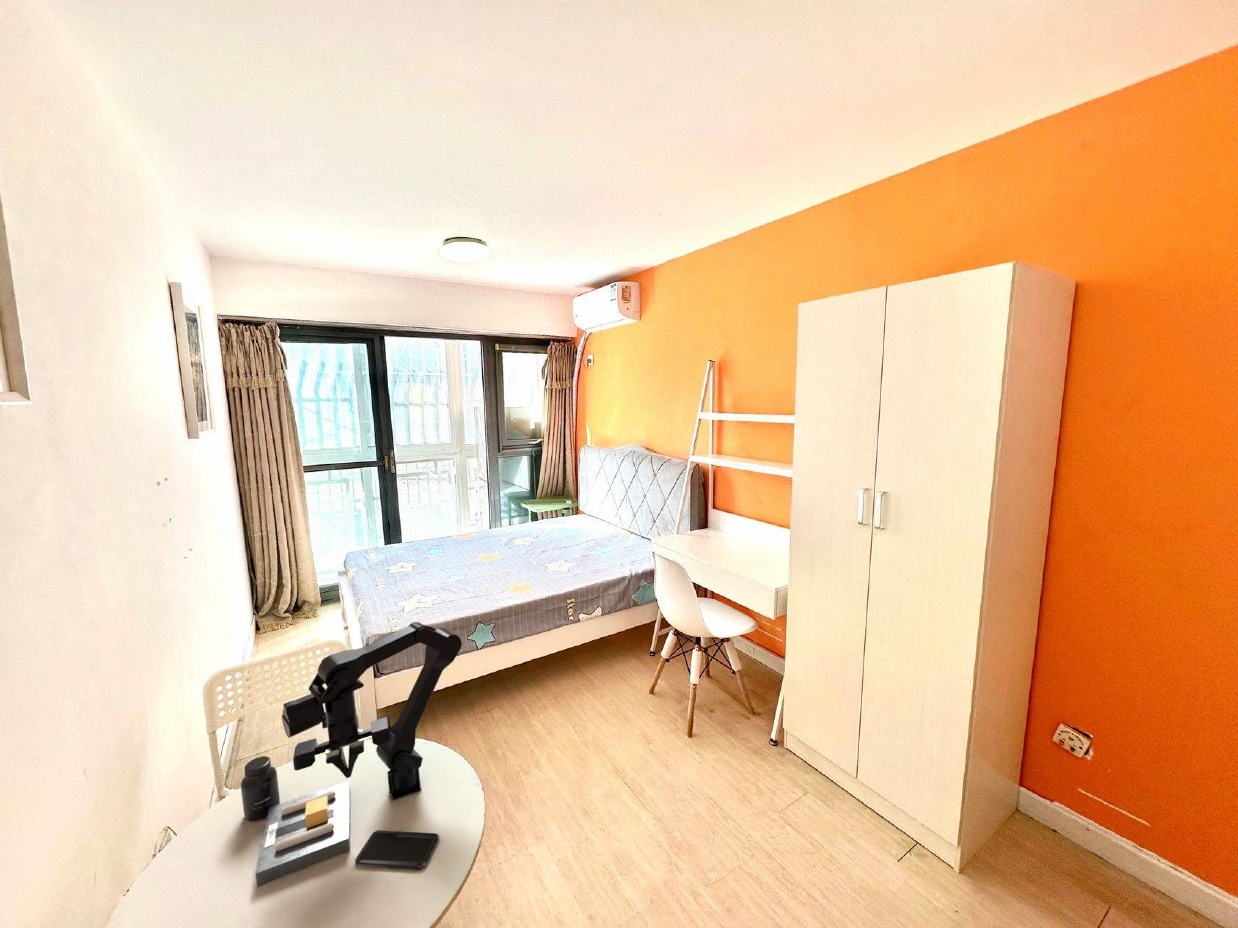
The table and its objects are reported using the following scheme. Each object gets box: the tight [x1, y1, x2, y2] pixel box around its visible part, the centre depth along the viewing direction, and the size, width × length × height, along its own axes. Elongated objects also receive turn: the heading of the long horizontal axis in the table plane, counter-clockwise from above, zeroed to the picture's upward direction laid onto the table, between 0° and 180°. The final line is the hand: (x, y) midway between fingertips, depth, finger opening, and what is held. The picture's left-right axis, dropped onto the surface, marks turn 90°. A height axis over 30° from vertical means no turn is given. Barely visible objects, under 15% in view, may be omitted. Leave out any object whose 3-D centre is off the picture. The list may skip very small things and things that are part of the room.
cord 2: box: [281, 791, 336, 815], centre depth 113 cm, size 11×2×2 cm, turn 118°
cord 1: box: [275, 823, 334, 851], centre depth 104 cm, size 11×2×2 cm, turn 118°
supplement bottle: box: [240, 755, 281, 822], centre depth 115 cm, size 7×7×12 cm
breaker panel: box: [255, 780, 352, 888], centre depth 109 cm, size 16×18×3 cm
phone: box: [354, 829, 440, 871], centre depth 104 cm, size 8×1×15 cm
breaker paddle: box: [305, 795, 329, 828], centre depth 109 cm, size 4×4×3 cm
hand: (348, 776), depth 111 cm, fingers closed
